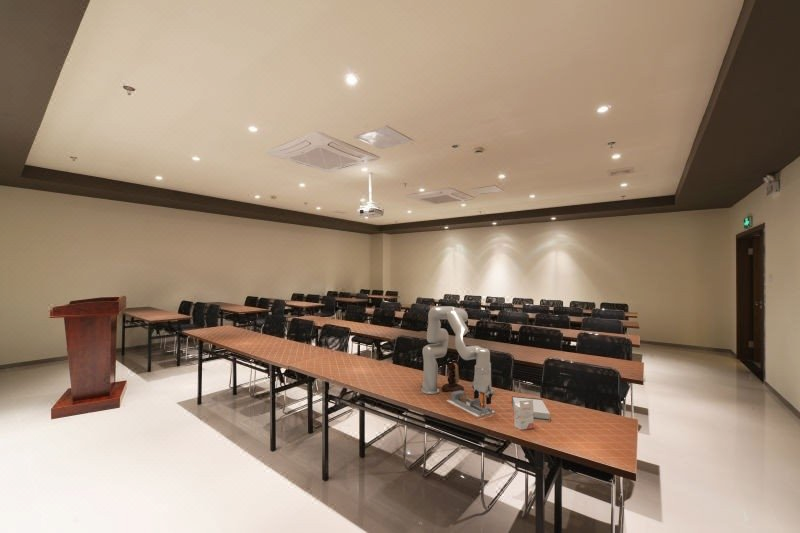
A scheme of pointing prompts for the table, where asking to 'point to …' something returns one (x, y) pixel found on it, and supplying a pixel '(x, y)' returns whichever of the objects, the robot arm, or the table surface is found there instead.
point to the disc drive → (535, 408)
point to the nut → (463, 399)
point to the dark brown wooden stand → (453, 378)
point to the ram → (479, 403)
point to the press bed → (467, 404)
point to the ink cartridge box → (523, 415)
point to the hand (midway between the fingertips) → (482, 401)
